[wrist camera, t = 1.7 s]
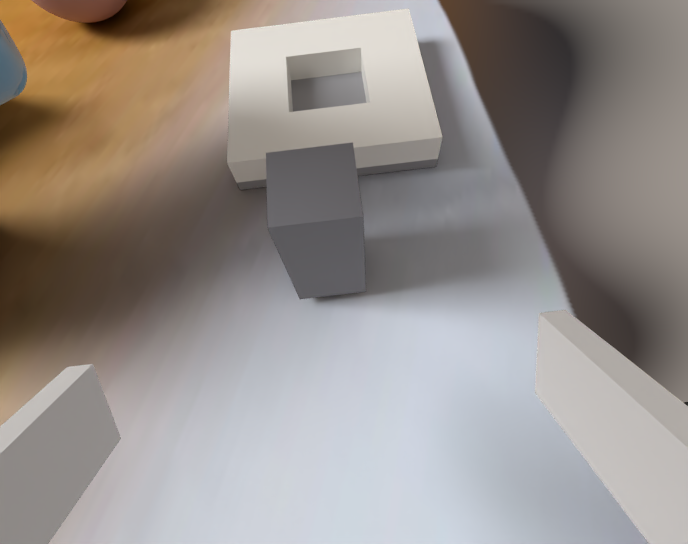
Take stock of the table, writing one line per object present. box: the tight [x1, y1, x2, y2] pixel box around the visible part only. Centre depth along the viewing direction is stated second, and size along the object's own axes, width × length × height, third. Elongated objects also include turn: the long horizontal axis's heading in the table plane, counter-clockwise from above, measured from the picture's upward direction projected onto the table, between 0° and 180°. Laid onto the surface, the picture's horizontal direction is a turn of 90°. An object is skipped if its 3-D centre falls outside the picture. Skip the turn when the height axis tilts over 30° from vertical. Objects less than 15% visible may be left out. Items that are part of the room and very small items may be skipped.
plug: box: [266, 142, 366, 299], centre depth 26 cm, size 5×5×11 cm
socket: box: [227, 9, 443, 190], centre depth 36 cm, size 17×16×4 cm
